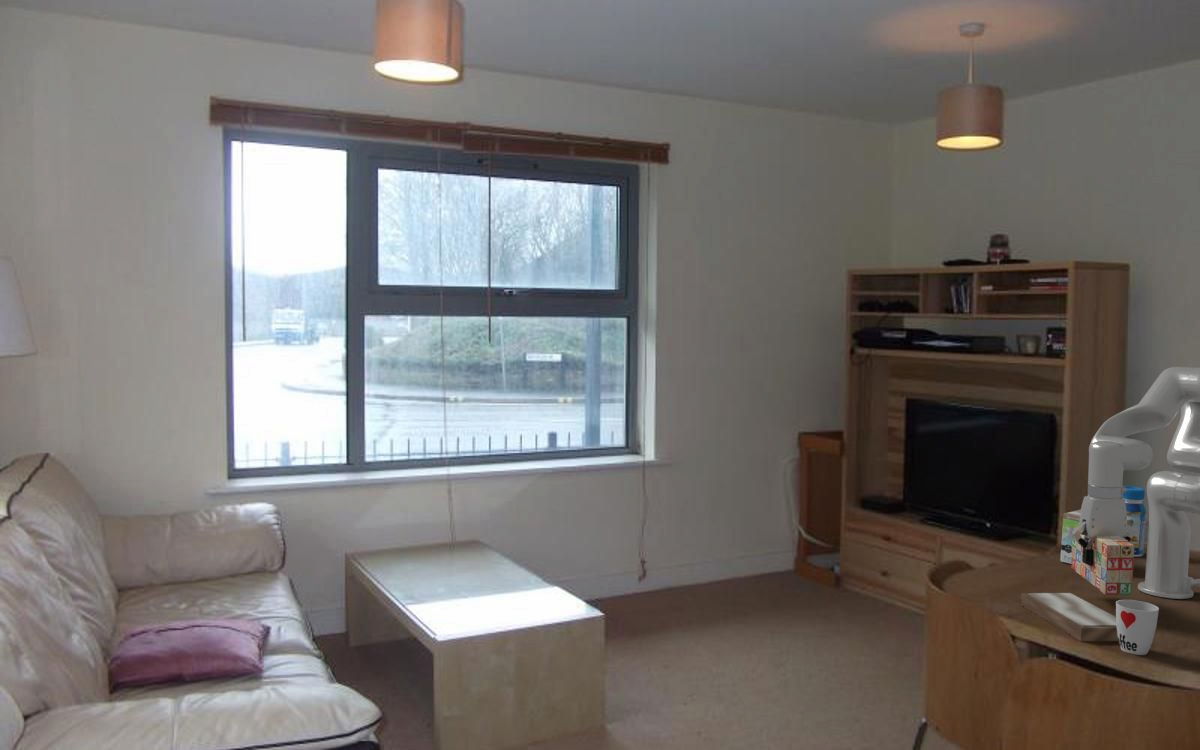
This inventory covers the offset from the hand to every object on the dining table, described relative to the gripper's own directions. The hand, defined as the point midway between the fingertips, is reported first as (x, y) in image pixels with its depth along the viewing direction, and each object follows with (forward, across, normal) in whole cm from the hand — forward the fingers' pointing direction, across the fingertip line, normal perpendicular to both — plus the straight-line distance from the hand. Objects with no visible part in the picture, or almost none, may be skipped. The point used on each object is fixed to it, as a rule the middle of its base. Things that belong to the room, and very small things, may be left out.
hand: (1102, 563), depth 246 cm
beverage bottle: (+14, -40, -50) cm, 65 cm away
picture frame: (+10, +13, +12) cm, 20 cm away
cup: (+10, +11, +31) cm, 34 cm away
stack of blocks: (+5, 0, -1) cm, 5 cm away
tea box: (+13, -21, -37) cm, 44 cm away
